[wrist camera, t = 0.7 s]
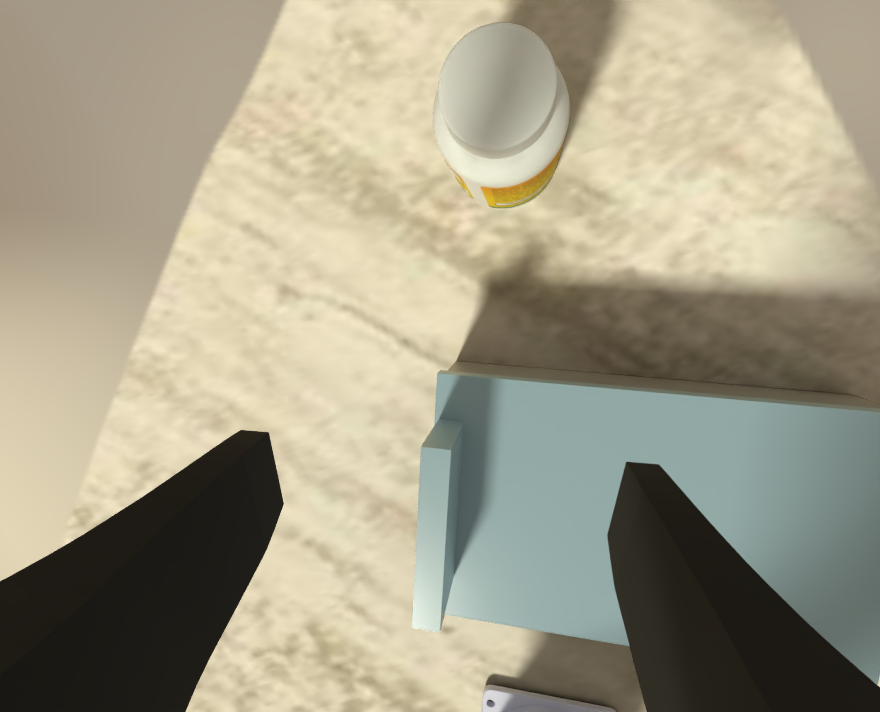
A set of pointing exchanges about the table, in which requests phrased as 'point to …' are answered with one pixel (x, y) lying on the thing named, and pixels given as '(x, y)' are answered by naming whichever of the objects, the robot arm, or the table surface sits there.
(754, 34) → the table surface
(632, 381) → the tub
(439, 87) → the supplement bottle
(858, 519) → the lid
